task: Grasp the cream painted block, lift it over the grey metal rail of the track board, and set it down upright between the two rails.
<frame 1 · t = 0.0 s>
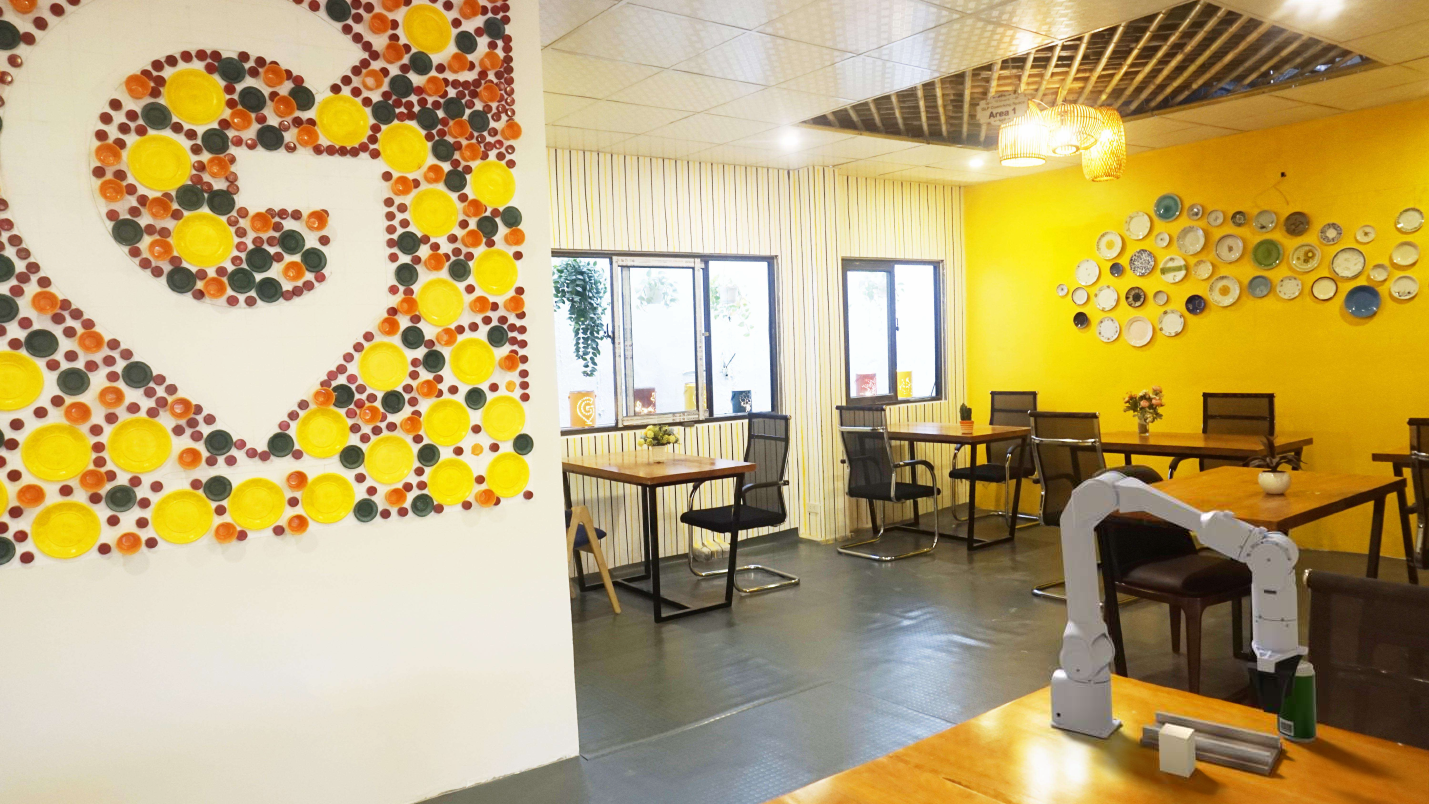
hand: (1277, 704, 134), 10 cm above the table, fingers open, 7 cm apart
beer can: (1296, 737, 145), on the table
cream block: (1177, 768, 137), on the table
track: (1210, 746, 143), on the table
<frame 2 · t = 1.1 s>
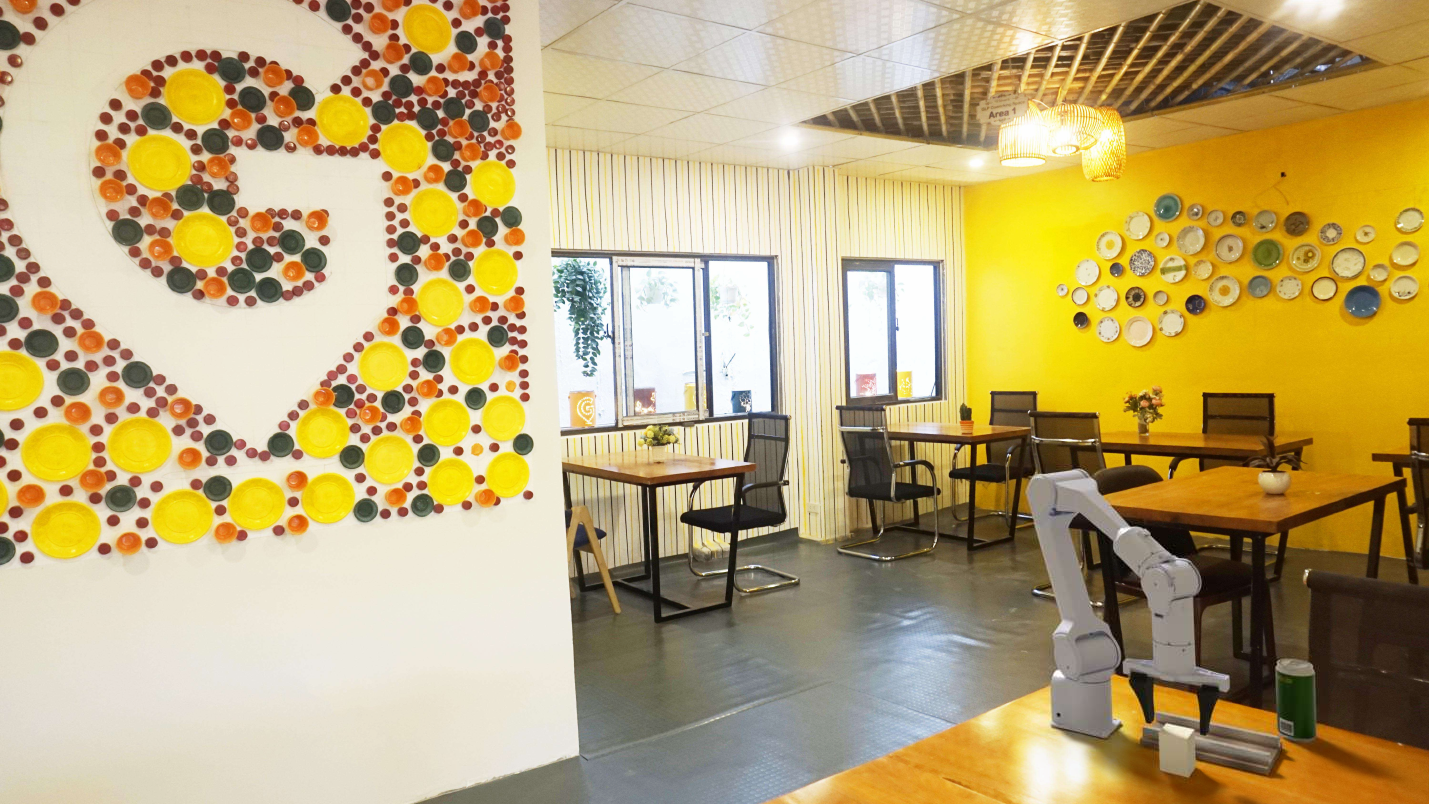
hand: (1176, 727, 136), 7 cm above the table, fingers open, 7 cm apart
nothing on the table moved.
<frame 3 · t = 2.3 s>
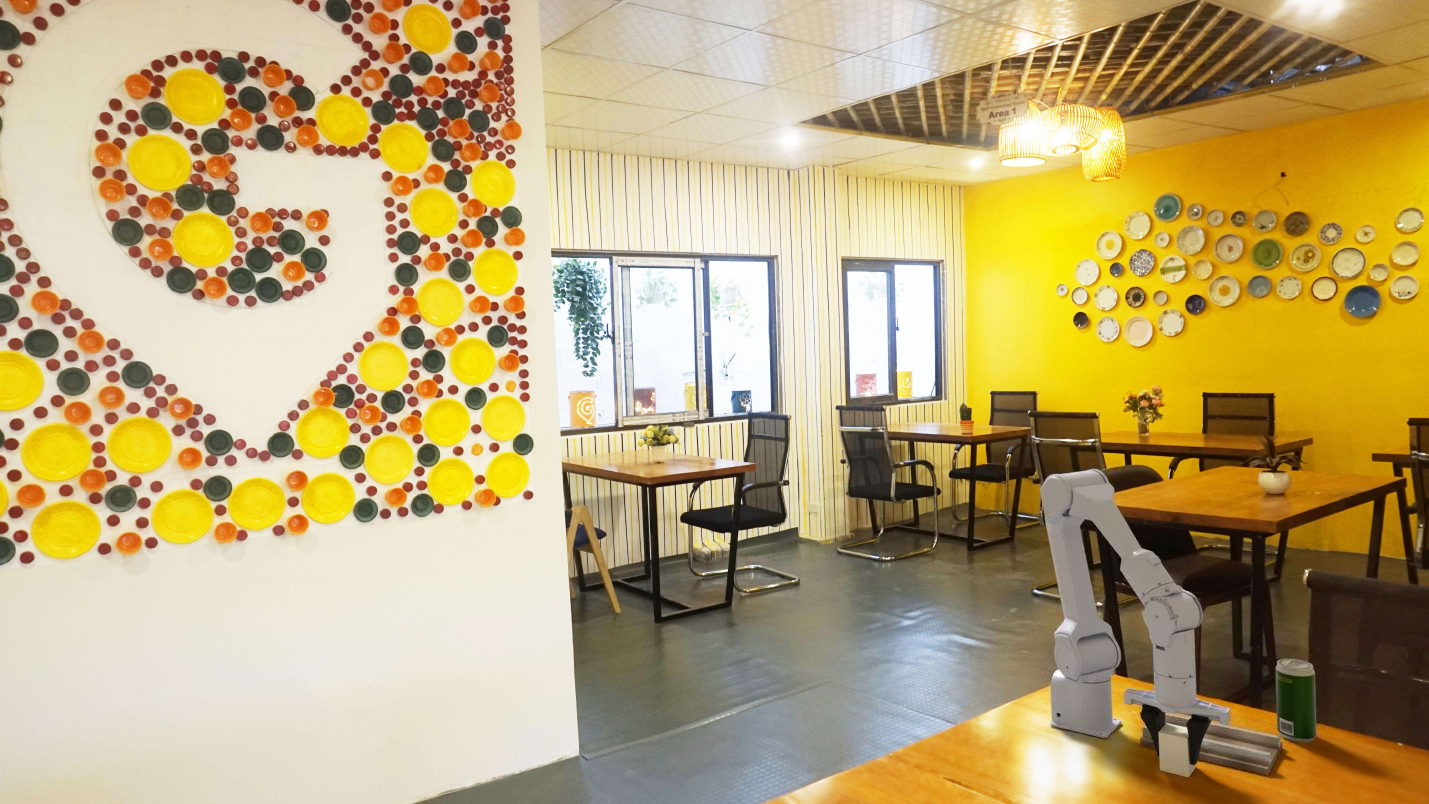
hand: (1177, 758, 137), 2 cm above the table, fingers closed on cream block, 4 cm apart
cream block: (1177, 768, 137), on the table, touching gripper
everything else where it was.
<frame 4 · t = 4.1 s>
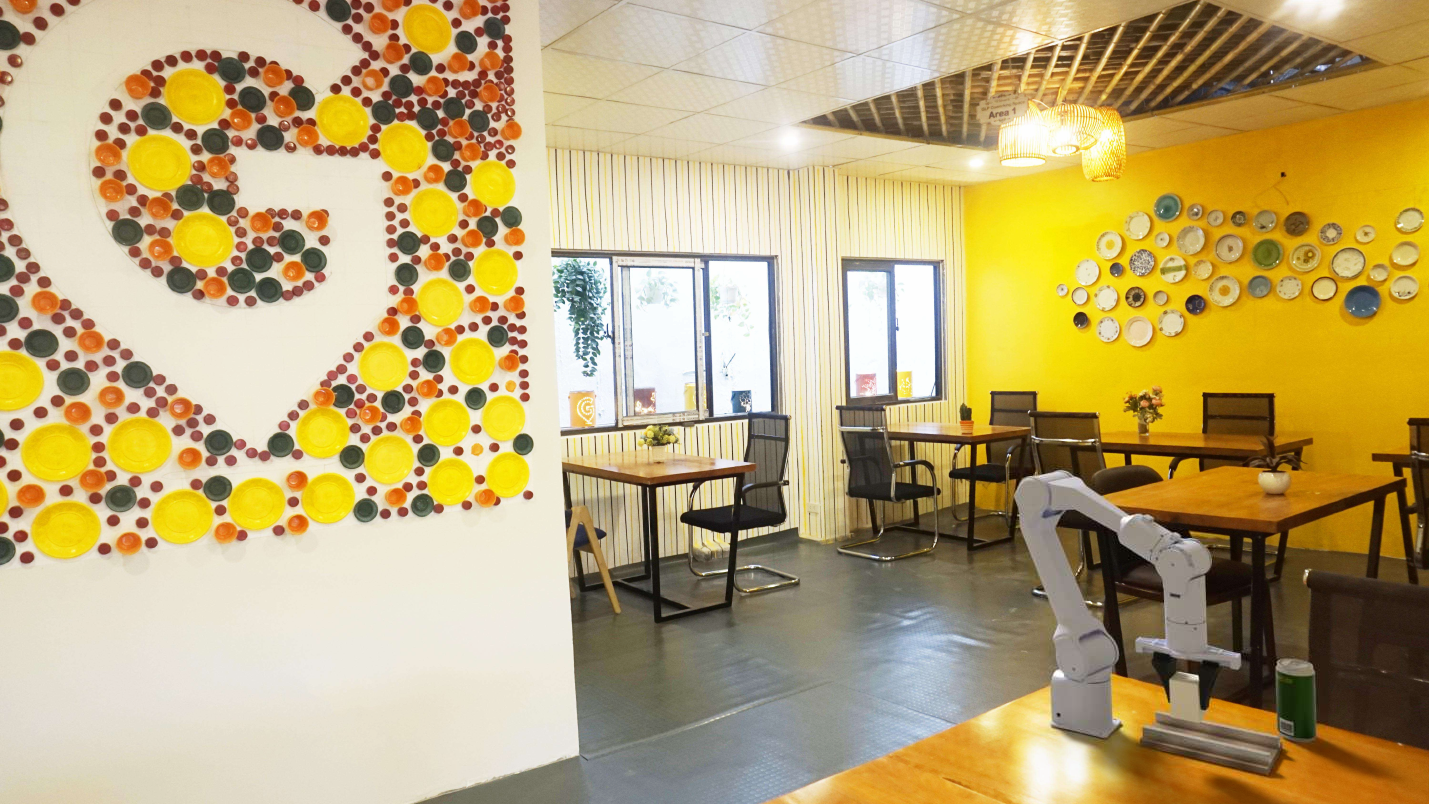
hand: (1188, 704, 139), 9 cm above the table, fingers closed on cream block, 4 cm apart
cream block: (1188, 715, 139), point 7 cm above the table, touching gripper
everything else where it was.
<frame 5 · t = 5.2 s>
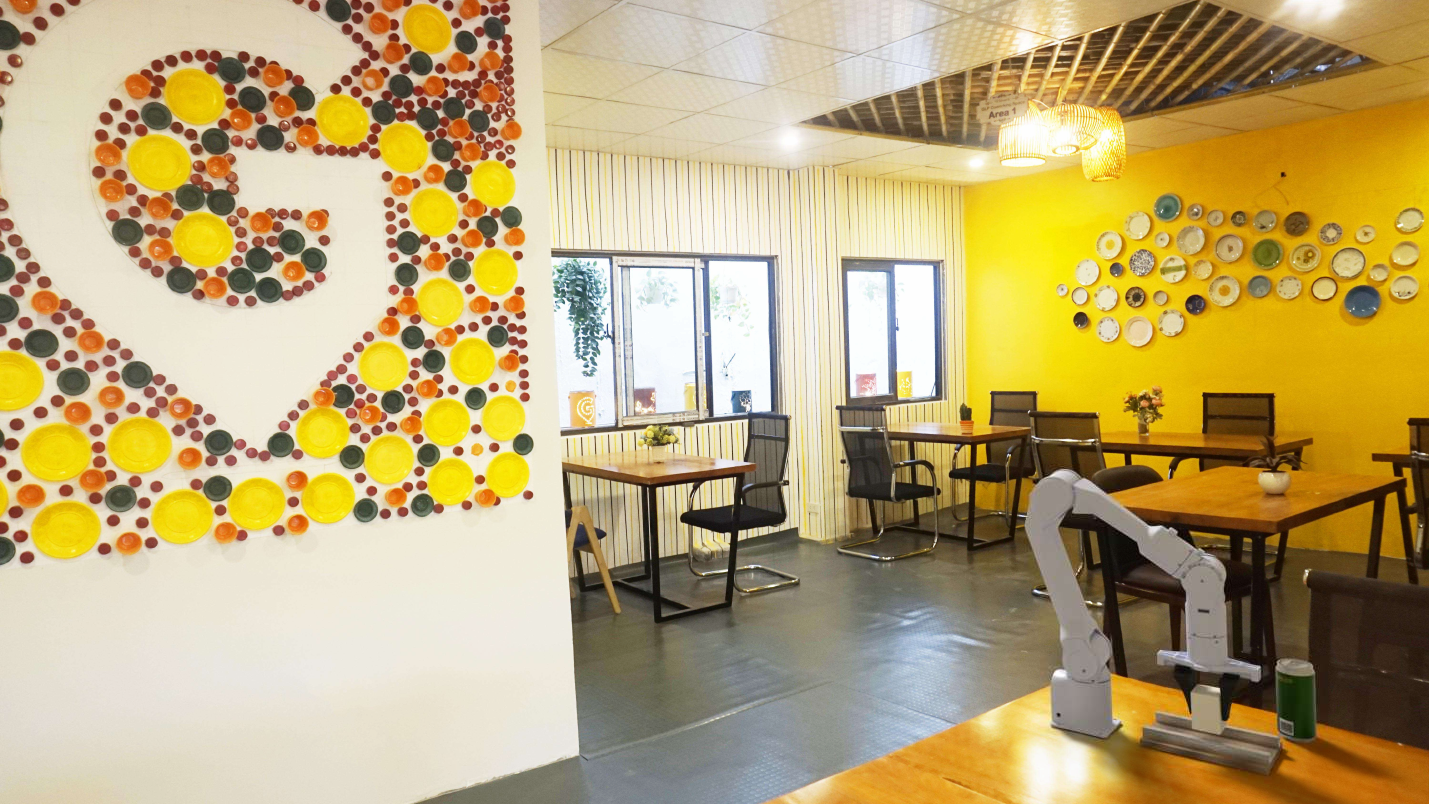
hand: (1209, 715, 143), 5 cm above the table, fingers closed on cream block, 4 cm apart
cream block: (1209, 727, 143), point 3 cm above the table, touching gripper
everything else where it was.
when the fingers open (4 cm above the table, at t = 5.9 s): cream block stays where it is, resting on track.
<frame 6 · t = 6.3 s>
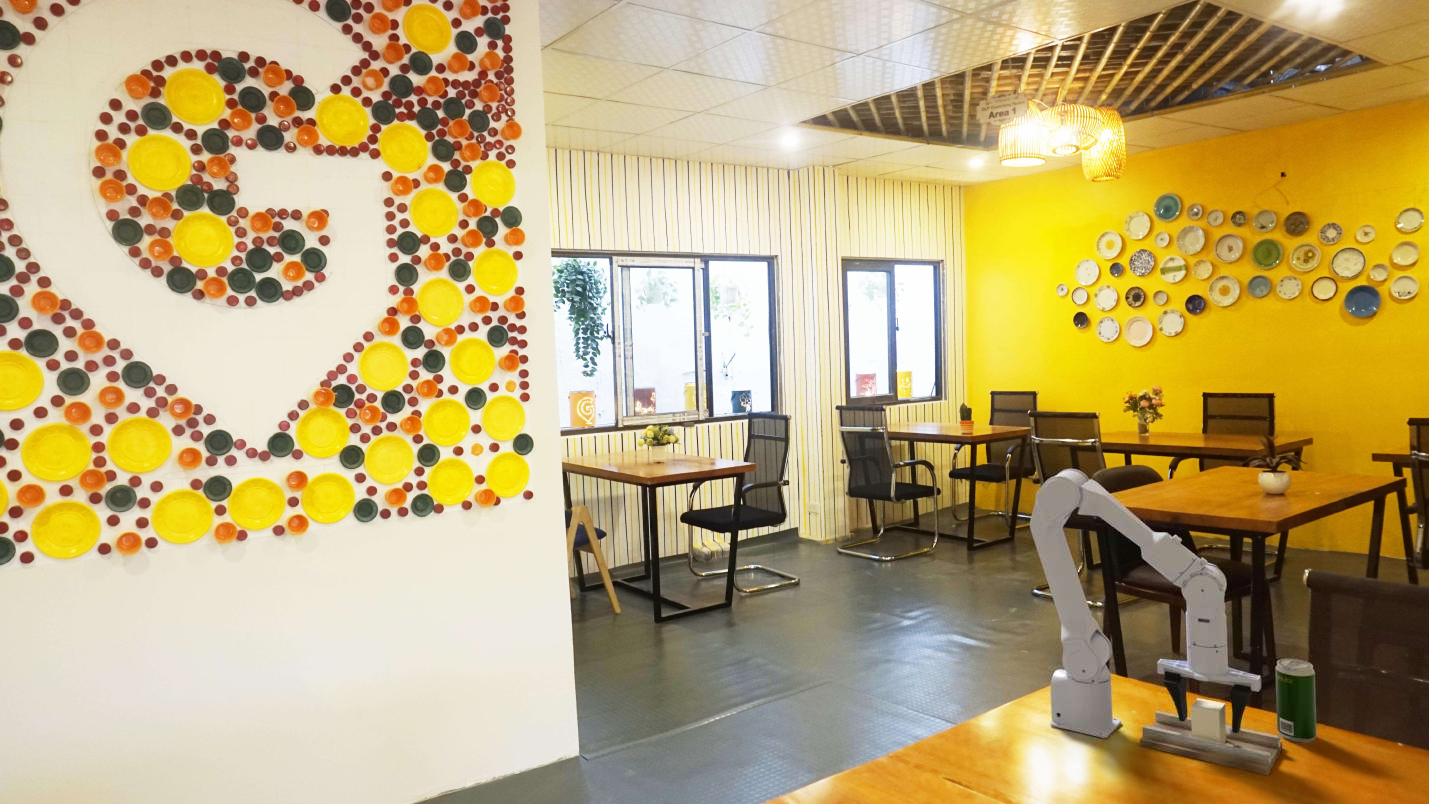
hand: (1209, 724, 143), 4 cm above the table, fingers open, 7 cm apart
cream block: (1209, 741, 143), point 1 cm above the table, touching track
everything else where it was.
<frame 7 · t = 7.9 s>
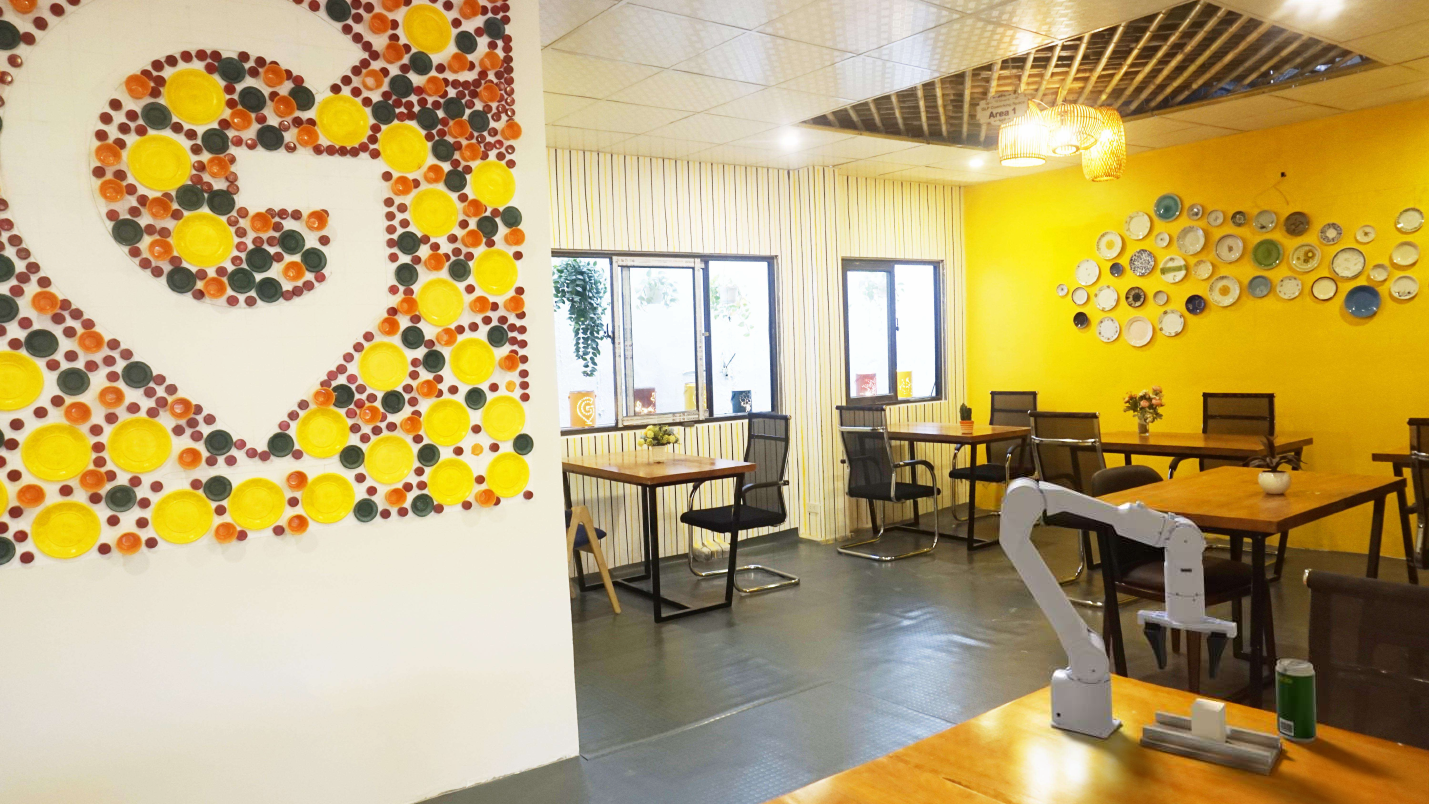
hand: (1187, 672, 148), 10 cm above the table, fingers open, 7 cm apart
nothing on the table moved.
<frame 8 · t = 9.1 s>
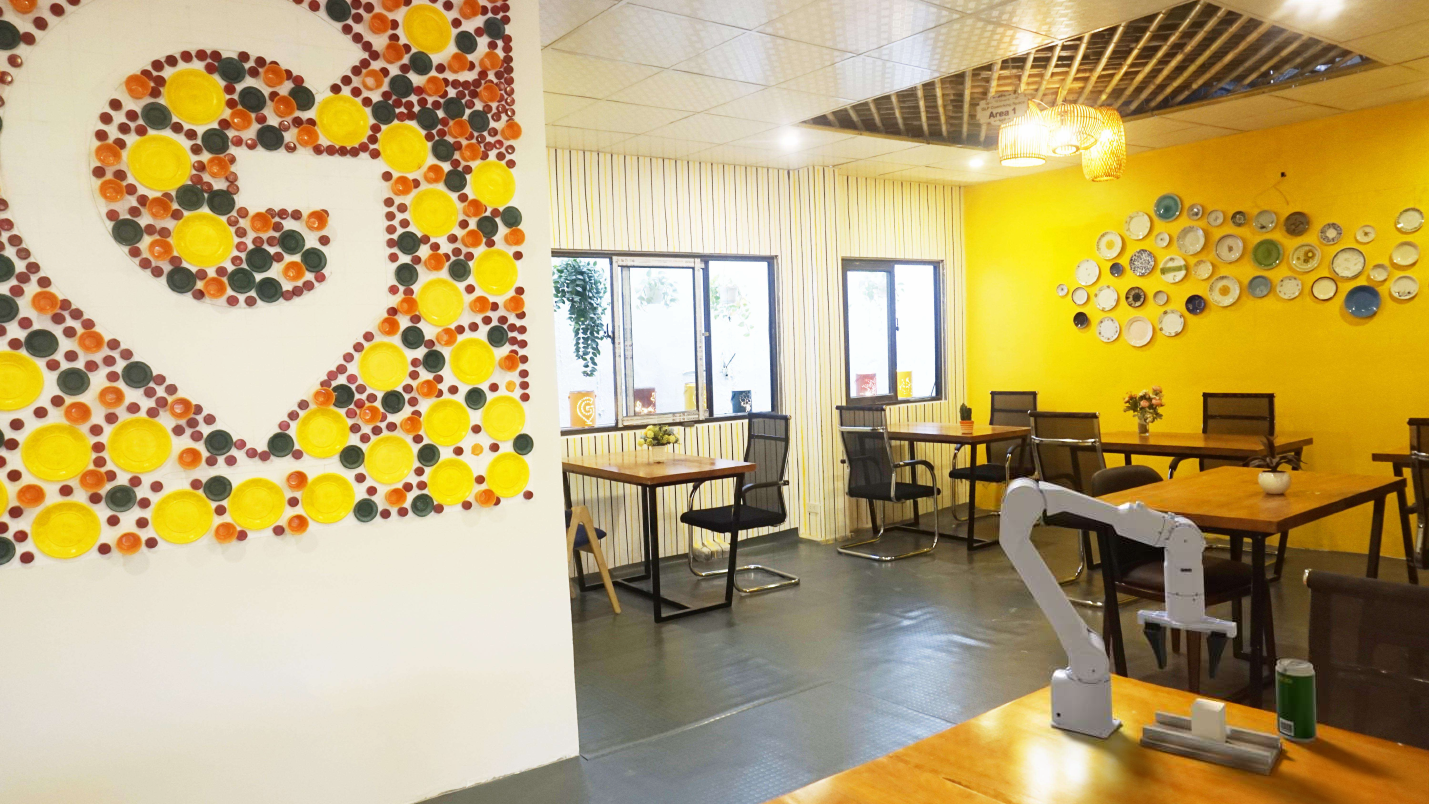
hand: (1187, 671, 148), 10 cm above the table, fingers open, 7 cm apart
nothing on the table moved.
at the end: cream block inside the target area on the track (0.3 cm from its centre), point 1.0 cm above the track's base; cream block tilted 0°; the gripper is holding nothing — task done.
